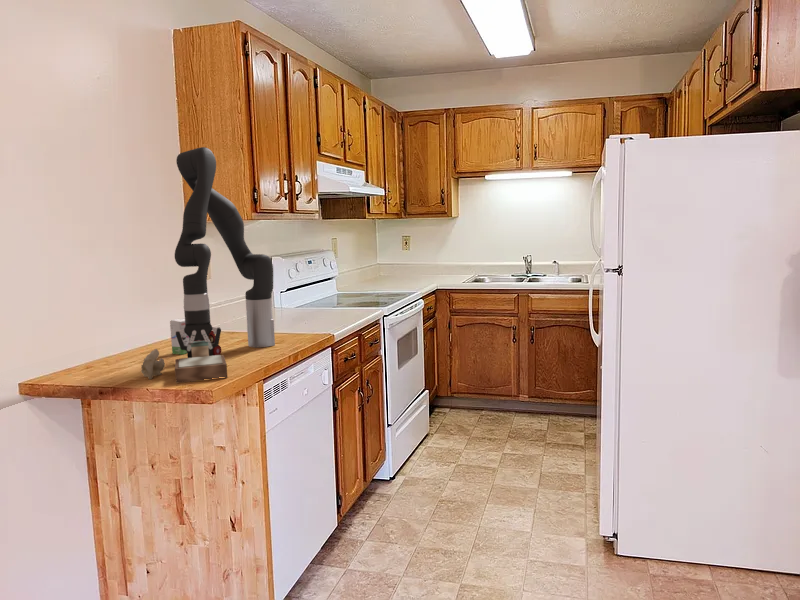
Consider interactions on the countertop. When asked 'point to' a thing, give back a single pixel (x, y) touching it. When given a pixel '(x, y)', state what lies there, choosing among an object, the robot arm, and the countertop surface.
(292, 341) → the countertop surface
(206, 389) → the countertop surface
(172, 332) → the ink box
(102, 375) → the countertop surface
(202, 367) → the base slab
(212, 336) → the toy fire truck
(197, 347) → the maple block
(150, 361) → the bone
